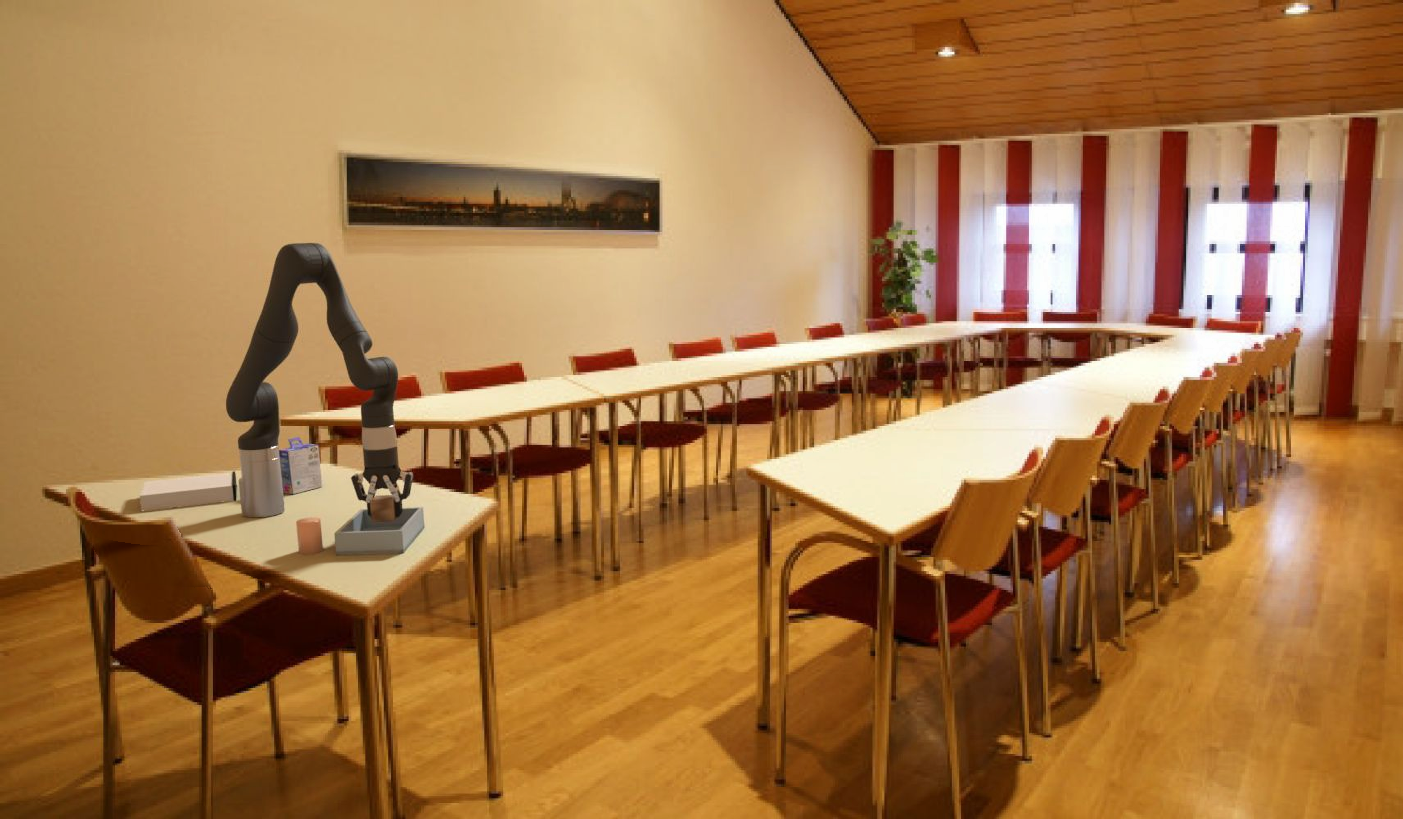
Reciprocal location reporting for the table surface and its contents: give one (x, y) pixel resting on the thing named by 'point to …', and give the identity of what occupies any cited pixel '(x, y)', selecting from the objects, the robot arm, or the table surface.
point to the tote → (379, 533)
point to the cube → (382, 509)
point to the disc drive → (188, 491)
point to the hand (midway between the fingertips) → (385, 516)
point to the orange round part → (309, 536)
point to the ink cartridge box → (300, 467)
